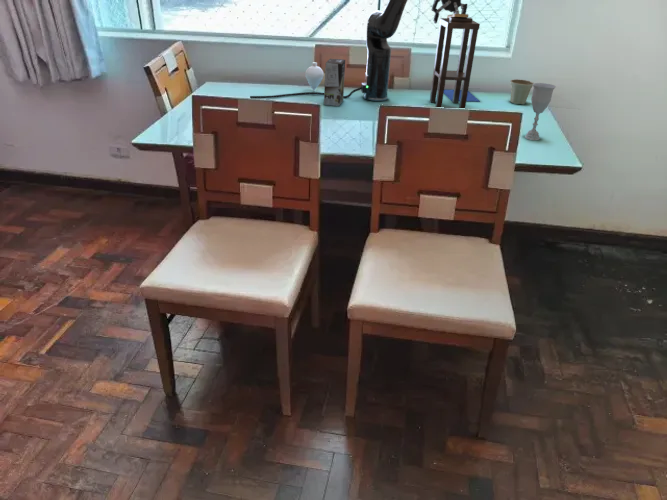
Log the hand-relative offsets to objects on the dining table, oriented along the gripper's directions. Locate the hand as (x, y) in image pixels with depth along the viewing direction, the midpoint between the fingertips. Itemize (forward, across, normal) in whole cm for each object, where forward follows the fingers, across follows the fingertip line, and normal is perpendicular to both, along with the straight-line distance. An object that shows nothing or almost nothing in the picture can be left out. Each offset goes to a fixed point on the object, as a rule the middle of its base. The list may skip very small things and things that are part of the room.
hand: (444, 25), depth 235 cm
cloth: (+26, -14, +3) cm, 30 cm away
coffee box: (+43, +40, +18) cm, 61 cm away
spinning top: (+40, +48, +2) cm, 62 cm away
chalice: (+39, -26, +56) cm, 73 cm away
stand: (+32, -5, +19) cm, 38 cm away
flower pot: (+24, -36, +12) cm, 45 cm away
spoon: (+2, +2, +21) cm, 21 cm away
